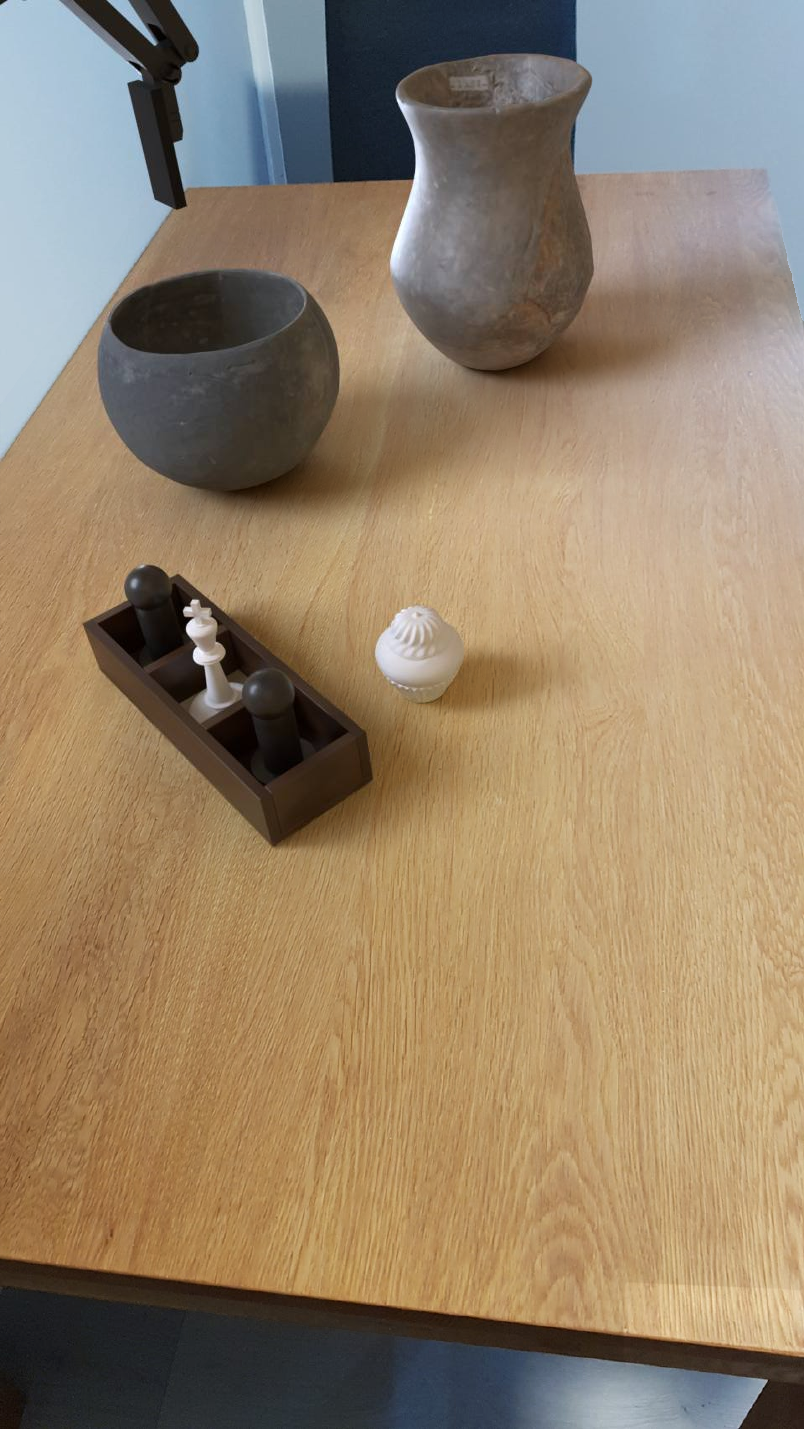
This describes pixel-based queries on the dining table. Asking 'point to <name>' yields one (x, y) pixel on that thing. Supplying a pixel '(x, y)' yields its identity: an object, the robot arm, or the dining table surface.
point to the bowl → (219, 375)
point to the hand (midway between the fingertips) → (72, 239)
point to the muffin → (420, 653)
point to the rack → (234, 718)
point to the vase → (493, 207)
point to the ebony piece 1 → (154, 612)
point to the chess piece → (209, 665)
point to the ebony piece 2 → (274, 725)
